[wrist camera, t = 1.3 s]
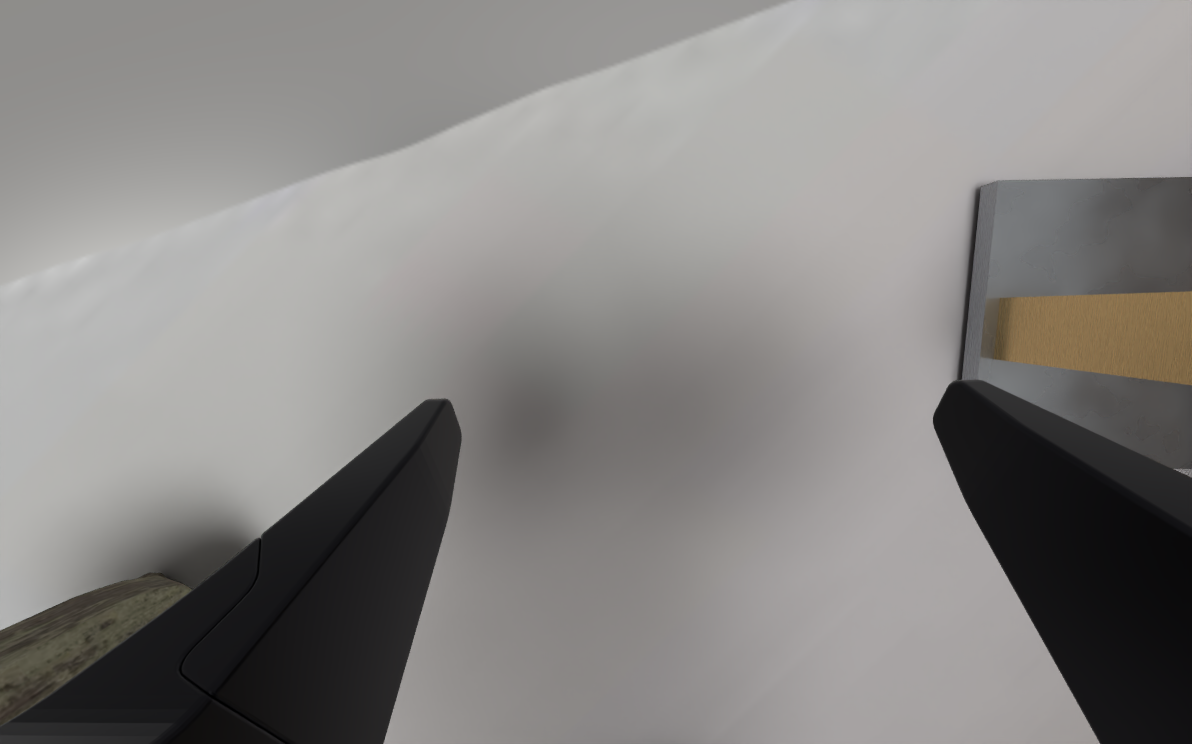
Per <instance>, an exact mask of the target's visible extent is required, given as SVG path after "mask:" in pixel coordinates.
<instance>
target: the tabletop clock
mask: <svg viewBox="0 0 1192 744" xmlns="http://www.w3.org/2000/svg"><path fill="white" fill-rule="evenodd" d="M191 590H192V589H190V588H189V587H187V586H185V585H184V584H182V583H179V582H176V581H173V580H170V579H168V578H167V577H165V576H164V575H163V574H161V573H147V574H145V575H143V576H141V577H139V578H137V579H132V580H126V581H121V582H118V583H115V584H112V585H109V586H106V587H102V588H99V589H96V590H94V591H91V592H88V593H85V594H83V595H80V596H77V597H74V598H71V599H69V600H67V601H65V602H63V603H60V604H58V605H56V606H54V607H52V608H49V609H47V610H45V611H43V612H40V613H38V614H36V615H34V616H32V617H29V618H27V619H25V620H23V621H21V622H18V623H16V624H14V625H12V626H10V627H7V628H5V629H3V630H1V631H0V725H2V724H4V723H6V722H8V721H9V720H11V719H13V718H14V717H16V716H17V715H19V714H21V713H22V712H24V711H26V710H27V709H29V708H30V707H32V706H33V705H35V704H36V703H38V702H39V701H41V700H42V699H43V698H45V697H46V696H48V695H49V694H51V693H52V692H53V691H55V690H56V689H58V688H59V687H60V686H62V685H63V684H64V683H66V682H67V681H69V680H70V679H71V678H73V677H74V676H75V675H77V674H78V673H80V672H81V671H82V670H84V669H85V668H86V667H88V666H89V665H91V664H92V663H93V662H95V661H96V660H97V659H99V658H100V657H102V656H103V655H104V654H106V653H107V652H108V651H110V650H111V649H113V648H114V647H115V646H117V645H118V644H119V643H121V642H122V641H124V640H125V639H126V638H128V637H129V636H130V635H132V634H133V633H135V632H136V631H137V630H139V629H140V628H141V627H143V626H144V625H146V624H147V623H148V622H150V621H151V620H152V619H154V618H155V617H157V616H158V615H159V614H161V613H162V612H163V611H165V610H166V609H167V608H169V607H170V606H171V605H173V604H174V603H175V602H177V601H178V600H179V599H181V598H182V597H183V596H185V595H186V594H187V593H189V592H190V591H191Z"/></svg>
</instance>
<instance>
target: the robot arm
mask: <svg viewBox="0 0 1192 744" xmlns="http://www.w3.org/2000/svg"><path fill="white" fill-rule="evenodd" d="M933 425H934V429H935V431H936V433H937V436H938V438H939V441H940V443H941V445H942V448H943V450H944V452H945V455H946V457H947V459H948V462H949V464H950V467H951V469H952V471H953V474H954V476H955V478H956V481H957V483H958V486H959V488H960V490H961V492H962V495H963V497H964V499H965V501H966V503H967V505H968V507H969V509H970V511H971V513H972V515H973V517H974V518H975V520H976V522H977V524H978V526H979V527H980V529H981V531H982V533H983V535H984V536H985V538H986V540H987V542H988V543H989V545H990V547H991V549H992V551H993V552H994V554H995V556H996V558H997V560H998V561H999V563H1000V565H1001V567H1002V569H1003V570H1004V572H1005V574H1006V576H1007V578H1008V579H1009V581H1010V583H1011V585H1012V586H1013V588H1014V590H1015V592H1016V594H1017V595H1018V597H1019V599H1020V601H1021V603H1022V604H1023V606H1024V608H1025V610H1026V612H1027V613H1028V615H1029V617H1030V619H1031V621H1032V622H1033V624H1034V626H1035V628H1036V629H1037V631H1038V633H1039V635H1040V637H1041V638H1042V640H1043V642H1044V644H1045V646H1046V647H1047V649H1048V651H1049V653H1050V655H1051V656H1052V658H1053V660H1054V662H1055V664H1056V665H1057V667H1058V669H1059V671H1060V672H1061V674H1062V676H1063V678H1064V680H1065V681H1066V683H1067V685H1068V687H1069V689H1070V690H1071V692H1072V694H1073V696H1074V698H1075V699H1076V701H1077V703H1078V705H1079V706H1080V708H1081V710H1082V712H1083V714H1084V715H1085V717H1086V719H1087V721H1088V723H1089V724H1090V726H1091V728H1092V730H1093V732H1094V733H1095V735H1096V737H1097V739H1098V741H1099V742H1100V744H1192V478H1191V477H1189V476H1187V475H1185V474H1182V473H1180V472H1178V471H1176V470H1174V469H1172V468H1170V467H1167V466H1165V465H1163V464H1161V463H1159V462H1157V461H1155V460H1152V459H1150V458H1148V457H1146V456H1144V455H1142V454H1140V453H1137V452H1135V451H1133V450H1131V449H1129V448H1127V447H1125V446H1122V445H1120V444H1118V443H1116V442H1114V441H1112V440H1110V439H1107V438H1105V437H1103V436H1101V435H1099V434H1097V433H1095V432H1092V431H1090V430H1088V429H1086V428H1084V427H1082V426H1080V425H1077V424H1075V423H1073V422H1071V421H1069V420H1067V419H1065V418H1062V417H1060V416H1058V415H1056V414H1054V413H1052V412H1050V411H1047V410H1045V409H1043V408H1041V407H1039V406H1037V405H1035V404H1033V403H1030V402H1028V401H1026V400H1024V399H1022V398H1020V397H1018V396H1015V395H1013V394H1011V393H1009V392H1007V391H1005V390H1003V389H1000V388H998V387H996V386H994V385H992V384H990V383H988V382H985V381H983V380H978V379H972V380H956V381H953V382H952V383H951V384H949V386H948V387H947V389H946V391H945V393H944V395H943V397H942V399H941V401H940V403H939V405H938V407H937V409H936V411H935V413H934V416H933ZM460 446H461V429H460V426H459V423H458V421H457V418H456V415H455V412H454V409H453V406H452V404H451V402H450V401H449V400H448V399H428V400H425V401H424V402H423V403H421V404H420V405H419V406H418V407H416V408H415V409H414V410H413V411H412V412H410V413H409V414H408V415H407V416H406V417H404V418H403V419H402V420H401V421H399V422H398V423H397V424H396V425H395V426H393V427H392V428H391V429H390V430H388V431H387V432H386V433H385V434H384V435H382V436H381V437H380V438H379V439H377V440H376V441H375V442H374V443H373V444H371V445H370V446H369V447H368V448H367V449H365V450H364V451H363V452H362V453H360V454H359V455H358V456H357V457H356V458H354V459H353V460H352V461H351V462H349V463H348V464H347V465H346V466H345V467H343V468H342V469H341V470H340V471H338V472H337V473H336V474H335V475H334V476H332V477H331V478H330V479H329V480H328V481H326V482H325V483H324V484H323V485H321V486H320V487H319V488H318V489H317V490H315V491H314V492H313V493H312V494H310V495H309V496H308V497H307V498H306V499H304V500H303V501H302V502H301V503H299V504H298V505H297V506H296V507H295V508H293V509H292V510H291V511H290V512H289V513H287V514H286V515H285V516H284V517H282V518H281V519H280V520H279V521H278V522H276V523H275V524H274V525H273V526H271V527H270V528H269V529H268V530H267V531H265V532H264V533H263V534H262V535H261V538H257V539H255V540H254V541H253V542H252V543H251V544H249V545H248V546H247V547H246V548H244V549H243V550H242V551H241V552H240V553H238V554H237V555H236V556H235V557H233V558H232V559H231V560H230V561H228V562H227V563H226V564H225V565H223V566H222V567H221V568H220V569H218V570H217V571H216V572H215V573H213V574H212V575H211V576H209V577H208V578H207V579H206V580H204V581H203V582H202V583H201V584H199V585H198V586H197V587H195V588H194V589H193V590H191V591H190V592H189V593H187V594H186V595H185V596H183V597H182V598H181V599H179V600H178V601H177V602H175V603H174V604H173V605H171V606H170V607H169V608H167V609H166V610H165V611H163V612H162V613H161V614H159V615H158V616H157V617H155V618H154V619H152V620H151V621H150V622H148V623H147V624H146V625H144V626H143V627H141V628H140V629H139V630H137V631H136V632H135V633H133V634H132V635H130V636H129V637H128V638H126V639H125V640H124V641H122V642H121V643H119V644H118V645H117V646H115V647H114V648H113V649H111V650H110V651H108V652H107V653H106V654H104V655H103V656H102V657H100V658H99V659H97V660H96V661H95V662H93V663H92V664H91V665H89V666H88V667H86V668H85V669H84V670H82V671H81V672H80V673H78V674H77V675H75V676H74V677H73V678H71V679H70V680H69V681H67V682H66V683H64V684H63V685H62V686H60V687H59V688H58V689H56V690H55V691H53V692H52V693H51V694H49V695H48V696H46V697H45V698H43V699H42V700H41V701H39V702H38V703H36V704H35V705H33V706H32V707H30V708H29V709H27V710H26V711H24V712H22V713H21V714H19V715H17V716H16V717H14V718H13V719H11V720H9V721H8V722H6V723H4V724H2V725H0V744H383V743H384V740H385V736H386V733H387V729H388V726H389V722H390V719H391V715H392V712H393V708H394V705H395V701H396V698H397V694H398V691H399V687H400V684H401V680H402V677H403V673H404V670H405V667H406V663H407V660H408V656H409V653H410V649H411V646H412V642H413V639H414V635H415V632H416V628H417V625H418V621H419V618H420V614H421V611H422V607H423V604H424V600H425V597H426V594H427V590H428V587H429V583H430V580H431V576H432V573H433V569H434V566H435V562H436V559H437V555H438V552H439V548H440V545H441V541H442V538H443V534H444V531H445V527H446V524H447V520H448V516H449V512H450V506H451V501H452V495H453V489H454V483H455V477H456V471H457V465H458V458H459V452H460Z"/></svg>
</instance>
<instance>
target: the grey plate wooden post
mask: <svg viewBox="0 0 1192 744" xmlns="http://www.w3.org/2000/svg"><path fill="white" fill-rule="evenodd" d="M972 379H978V380H983V381H985V382H988V383H990V384H992V385H994V386H996V387H998V388H1000V389H1003V390H1005V391H1007V392H1009V393H1011V394H1013V395H1015V396H1018V397H1020V398H1022V399H1024V400H1026V401H1028V402H1030V403H1033V404H1035V405H1037V406H1039V407H1041V408H1043V409H1045V410H1047V411H1050V412H1052V413H1054V414H1056V415H1058V416H1060V417H1062V418H1065V419H1067V420H1069V421H1071V422H1073V423H1075V424H1077V425H1080V426H1082V427H1084V428H1086V429H1088V430H1090V431H1092V432H1095V433H1097V434H1099V435H1101V436H1103V437H1105V438H1107V439H1110V440H1112V441H1114V442H1116V443H1118V444H1120V445H1122V446H1125V447H1127V448H1129V449H1131V450H1133V451H1135V452H1137V453H1140V454H1142V455H1144V456H1146V457H1148V458H1150V459H1152V460H1155V461H1157V462H1159V463H1161V464H1163V465H1165V466H1167V467H1170V468H1172V469H1192V177H1175V178H1120V179H1064V180H1008V181H996V182H993V183H990V184H987V185H984V186H981V192H980V202H979V212H978V222H977V232H976V242H975V252H974V262H973V272H972V282H971V292H970V302H969V312H968V322H967V332H966V342H965V352H964V362H963V372H962V380H972Z"/></svg>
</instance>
